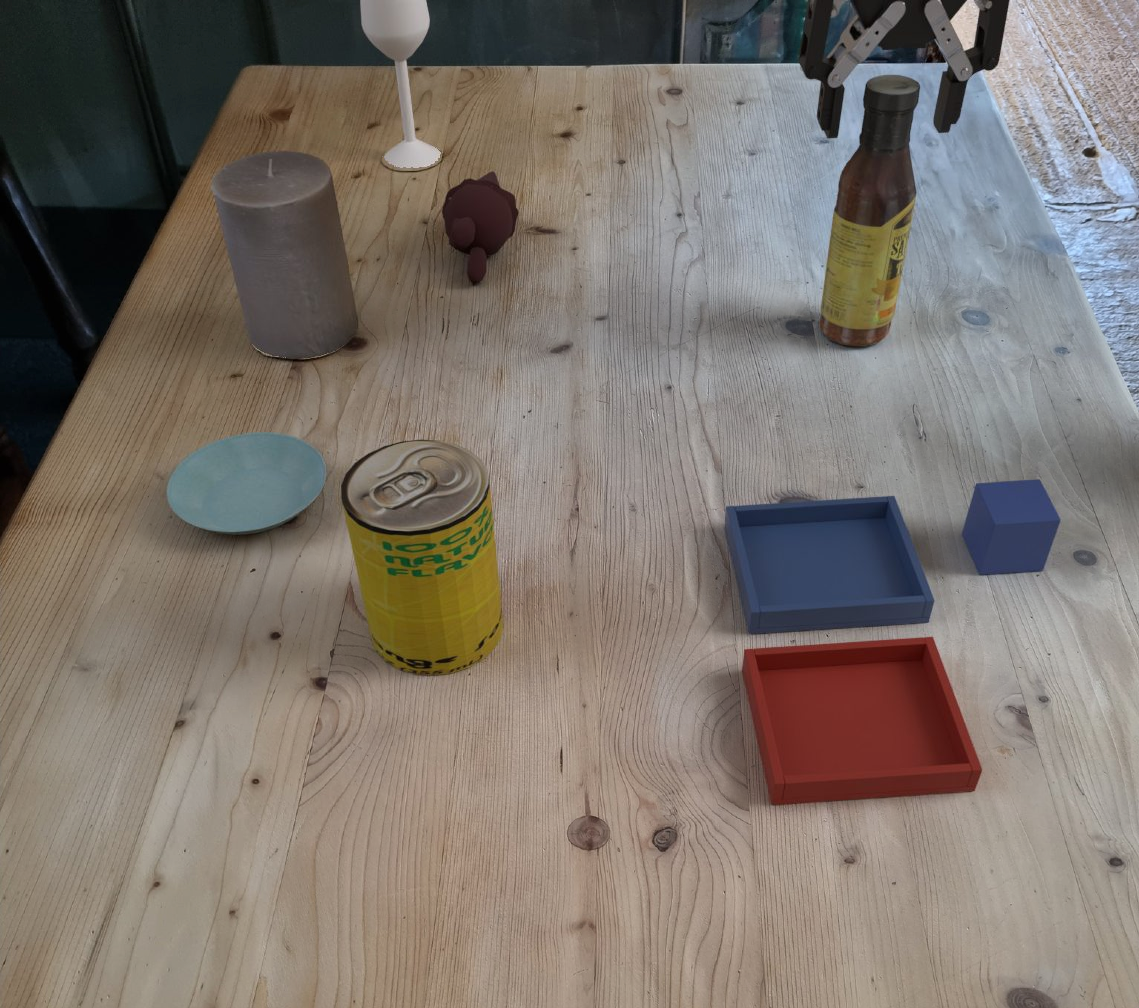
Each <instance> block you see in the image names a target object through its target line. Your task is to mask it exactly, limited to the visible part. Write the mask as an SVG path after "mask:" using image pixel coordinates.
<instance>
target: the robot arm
mask: <svg viewBox="0 0 1139 1008" xmlns="http://www.w3.org/2000/svg"><path fill="white" fill-rule="evenodd" d="M967 1H968V0H807V4H806V9H805V13H804V14H805V15H804V21H803V26H802V34H801V40H800V45H799V51H798V56H797V61H798V64H799V66H800V69H801V70H802V72H803V74H804V76H805V77H806V79H808V80H817V81H819V82H820V86H819V93H818V101H817V102H818V103H817V109H816V119H817V123H818V125H819V128H820V129H821V131H822V132H823V133H824V134H825V137H826V138H827V139H829V140H830V139H838V137H839V132H840V125H841V118H842V113H843V112H842V111H843V105H844V97H845V91H846V87H845V86H844V84H843V83H844V82H845V81H846V79H848V77H849V76H850V74H852V72H853V71H854V70H855V69H856V67H857V66H858V65H860V64H863V62H865V60H867V58H869V56H870V55H871V54H872V52H873V51H874V50H875V49H876V47H879V48H880V49H881V50H882V51H894V50H897V49H900V48H903V47H906V48H910V49H926V46H927V45H929V44H931V43H932V42H935V44H936V45H937V47H938V49H939V50H940V52H941V54H942V57H943V59H944V61H945V62H946V64H947V69H946V70H943V71H941V78H940V82H939V88H938V93H937V98H936V103H935V109H934V113H933V119H932V120H933V121H932V122H933V127H934V128H935V130H936V132H937V133H938V134H947V133H950V132H951V127H952V125H956V124H957V123H958V122H959V120H960V118H961V113H962V109H963V103H964V99H965V95H966V90H967V85H968V82H969V80H970V78H971V77H972V76H973V75H975V74H977V73H980V72H981V71H988V72H990V71H994V69H996V68H997V66H998V65H999V63H1000V58H1001V52H1002V47H1003V41H1004V35H1005V30H1006V29H1005V28H1006V23H1007V19H1008V11H1009V5H1010V0H973V3H974V4H975V6H976V7H977V8H978V9H979V10H978V17H977V23H976V30H975V35H974V42H973V46H972V47H970V48H968V49H966V50H965V49H964V46H963V43H962V42H961V40H960V38H959V36H958V34H957V32H956V30H955V28H954V26H953V24H952V20H953V18H954V17H955V16H956V15H957V14H958V12H959V11H960V10H961V9H962V7H963V6H964V5H965V4H966V2H967ZM847 2H850V4H851V6H852V8H853V10H854V11H855V16H854V17H853V18H852V20H851V21H850V22H849V24H848V25H846V27H845V29H843V32H842V33H841V35H840V37H839V40H838V42H837V43H836V44H835V46H834V47H833V48H832V50H831V51H830V52H829V54H828V55H827V56H825V50H826V46H827V40H828V33H829V29H830V24H831V19H835V18H836V17H837V16H838V15H839V14H840V12H841V9H842V7H843V5H844V4H845V3H847Z"/></svg>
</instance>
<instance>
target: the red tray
mask: <svg viewBox="0 0 1139 1008" xmlns="http://www.w3.org/2000/svg"><path fill="white" fill-rule="evenodd" d="M741 672H742V677H743V682H744V686H745V692H746V695H747V696H746V697H747V701H748V705H749V709H750V714H751V719H752V723H753V728H754V732H755V736H756V741H757V746H758V750H759V755H760V759H761V764H762V768H763V773H764V778H765V782H766V787H767V791H768V796H769V800H770V803H771V805H772V806H778V805H791V804H804V803H805V804H806V803H807V804H808V803H819V802H831V801H832V802H834V801H835V802H836V801H848V800H851V801H852V800H865V799H878V798H892V797H893V798H894V797H907V796H921V795H922V796H923V795H935V794H936V795H937V794H950V793H951V794H953V793H965V792H974V791H976V788H977V786H978V783H979V781H980V778H981V776H982V773H983V768H982V764H981V761H980V759H979V757H978V754H977V751H976V749H975V746H974V743H973V740H972V738H971V735H970V733H969V730H968V727H967V724H966V722H965V719H964V716H963V714H962V711H961V708H960V706H959V703H958V700H957V698H956V695H955V692H954V690H953V687H952V684H951V681H950V679H949V676H948V673H947V671H946V668H945V665H944V663H943V659H942V657H941V654H940V652H939V649H938V646H937V644H936V641H935V638H934V636H924V637H923V636H922V637H921V636H920V637H906V638H905V637H904V638H891V639H876V640H861V641H847V642H846V641H845V642H829V643H818V644H802V645H799V644H798V645H787V646H785V645H784V646H771V647H756V648H745V649H744V650H743V660H742V667H741Z"/></svg>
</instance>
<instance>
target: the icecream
mask: <svg viewBox="0 0 1139 1008" xmlns="http://www.w3.org/2000/svg"><path fill="white" fill-rule="evenodd" d="M441 209H442V210H441V215H442V218H443V221H444V232H445V235H446V236H447V238H448V245H449V246H450V247H452V249H454V250H455V251H458V252H459V253H461V254H464V255H467V256H468V258H467V266H466V267H467V269H466V274H467V278H468V281H469V283H470V284H471V285H473V286H475V285H480V284H481V283H482V282H483V280H484V278H485V277H486V274H487V270H488V266H487V265H488V264H487V261H488V259H487V257H489V256H493V255H495V254H497V253H498V252H499V251H500V250H501V248H502V247H503V246H505V244H506V242H507V241H508V240H509V239H510V238H511V237H513V236H514V233H515V232H516V226H517V220H518V217H519V214H520V213H519V209H518V208H517V199H516V196H515V195H514V194H513V193H512V192H511V191H508V190H506V189H504V188H502V187H501V186H500V182H499V179H498V176H497V173H496V172H495V171H489V172H487V173H486V174H484V175H483V176H482V177H480V178H478V179H474V178H471V177H469V178H464V179H463V181H462V182H460V184H457V185H456V186H453V187H452V188H450V189H448V191H447V193H446V195H445V199H444V203H443V206H442V208H441Z"/></svg>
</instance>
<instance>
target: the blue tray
mask: <svg viewBox="0 0 1139 1008" xmlns="http://www.w3.org/2000/svg"><path fill="white" fill-rule="evenodd" d="M907 527H908V526H907V525H906V522H905V519H904V516H903V514H902V511H901V510H900V506H899V503H898V501H897V498H896V496H895V495H884V496H869V497H868V496H867V497H855V498H854V497H853V498H838V499H822V500H808V501H807V500H806V501H792V502H774V503H760V504H759V503H758V504H745V505H744V504H743V505H742V504H741V505H726V506H725V516H724V527H723V528H724V532H725V533H724V534H725V537H726V541H727V546H728V550H729V554H730V559H731V563H732V567H733V571H734V576H735V580H736V585H737V589H738V593H739V598H740V602H741V606H742V610H743V615H744V619H745V623H746V627H747V632H748V635H759V634H773V633H788V632H789V633H791V632H803V631H804V632H805V631H818V630H832V629H833V630H834V629H849V628H862V627H881V626H892V625H893V626H896V625H907V624H908V625H910V624H922V623H923V624H924V623H926V624H927V623H929V622H930V620H931V616H932V611H933V609H934V605H935V601H936V600H935V598H934V595H933V592H932V590H931V587H930V585H929V582H928V580H927V576H926V574H925V572H924V569H923V566H922V564H921V561H920V559H919V555H918V553H917V550H916V548H915V546H914V542H913V541H912V538H911V535H910V533H909V530H908V528H907Z"/></svg>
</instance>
